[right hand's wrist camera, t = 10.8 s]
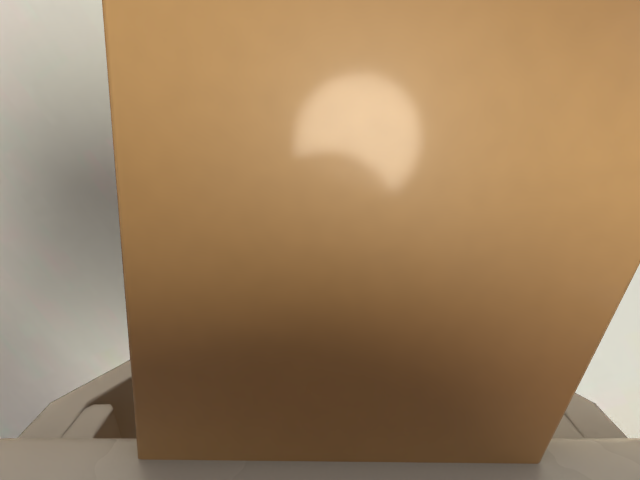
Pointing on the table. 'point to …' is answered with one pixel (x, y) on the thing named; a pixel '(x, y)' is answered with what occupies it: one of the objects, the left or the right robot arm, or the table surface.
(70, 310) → the table surface
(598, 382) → the table surface
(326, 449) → the bar
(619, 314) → the table surface
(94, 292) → the table surface
